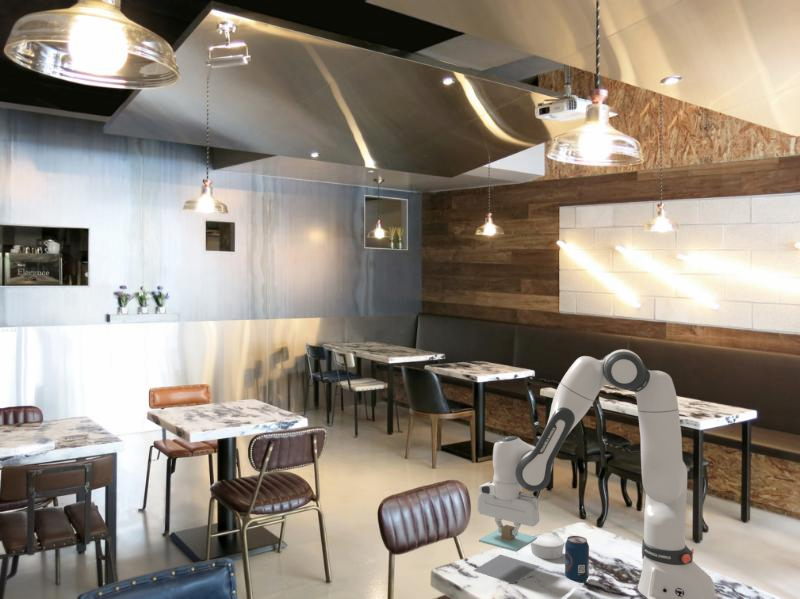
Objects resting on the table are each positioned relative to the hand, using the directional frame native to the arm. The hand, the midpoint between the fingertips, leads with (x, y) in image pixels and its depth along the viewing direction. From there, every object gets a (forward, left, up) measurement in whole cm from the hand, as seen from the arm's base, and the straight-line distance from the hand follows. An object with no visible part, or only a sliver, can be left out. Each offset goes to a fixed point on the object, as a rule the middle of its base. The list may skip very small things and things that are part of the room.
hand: (508, 534), depth 200 cm
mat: (0, 0, -12) cm, 12 cm away
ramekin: (-4, -19, -12) cm, 23 cm away
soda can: (-19, -9, -12) cm, 24 cm away
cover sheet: (0, 0, -2) cm, 2 cm away
